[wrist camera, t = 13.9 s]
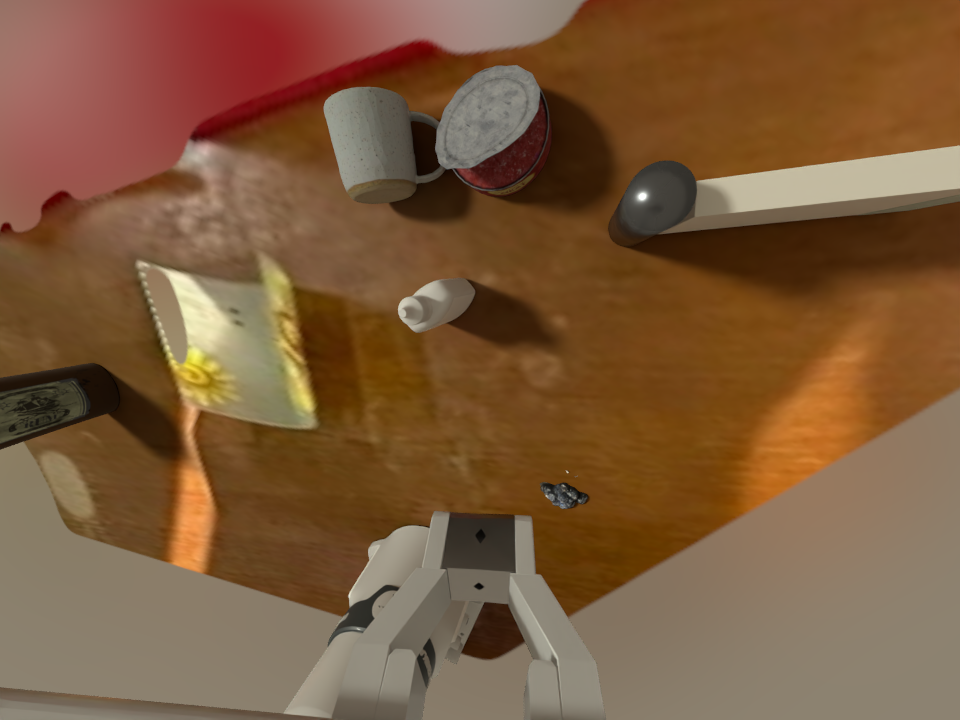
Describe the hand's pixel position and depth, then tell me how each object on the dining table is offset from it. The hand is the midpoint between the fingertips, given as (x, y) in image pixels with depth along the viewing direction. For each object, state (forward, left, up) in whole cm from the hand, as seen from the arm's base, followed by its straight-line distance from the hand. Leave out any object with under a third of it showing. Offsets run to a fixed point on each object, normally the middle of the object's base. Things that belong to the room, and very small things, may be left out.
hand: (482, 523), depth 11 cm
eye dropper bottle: (+3, +12, -28) cm, 31 cm away
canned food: (+19, +9, -28) cm, 35 cm away
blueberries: (-18, -5, -29) cm, 34 cm away
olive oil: (-23, +78, -28) cm, 86 cm away
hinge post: (+12, -5, -28) cm, 31 cm away
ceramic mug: (+17, +19, -28) cm, 38 cm away
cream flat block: (+14, -15, -27) cm, 35 cm away
